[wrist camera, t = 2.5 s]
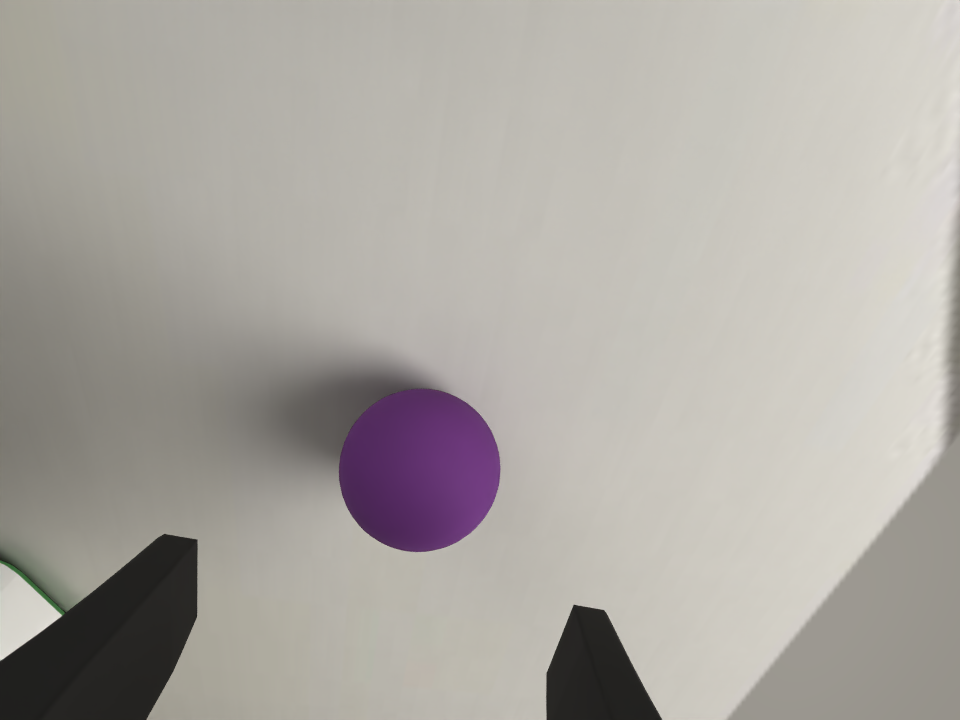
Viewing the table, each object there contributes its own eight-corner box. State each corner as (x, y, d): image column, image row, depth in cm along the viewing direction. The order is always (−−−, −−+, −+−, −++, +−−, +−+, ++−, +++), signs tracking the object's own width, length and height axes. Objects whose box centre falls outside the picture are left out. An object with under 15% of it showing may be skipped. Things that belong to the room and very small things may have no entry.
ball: (468, 499, 20) (461, 607, 16) (340, 456, 19) (300, 558, 15) (522, 391, 18) (530, 484, 14) (382, 340, 18) (350, 422, 14)
